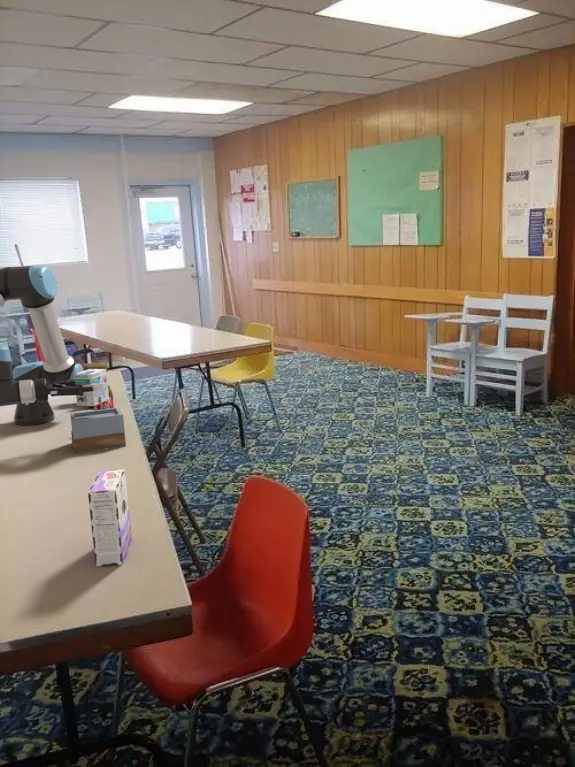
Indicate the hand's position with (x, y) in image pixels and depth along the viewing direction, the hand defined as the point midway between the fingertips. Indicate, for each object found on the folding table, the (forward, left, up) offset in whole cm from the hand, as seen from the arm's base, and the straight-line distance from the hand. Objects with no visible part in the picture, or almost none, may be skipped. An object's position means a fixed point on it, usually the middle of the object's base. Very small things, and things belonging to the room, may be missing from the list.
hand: (102, 384), depth 233 cm
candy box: (+92, -5, -21) cm, 94 cm away
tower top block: (0, -3, -16) cm, 17 cm away
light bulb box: (0, -4, -6) cm, 7 cm away
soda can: (-20, 0, -21) cm, 29 cm away
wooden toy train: (-70, +1, -21) cm, 73 cm away
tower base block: (0, -3, -21) cm, 22 cm away
